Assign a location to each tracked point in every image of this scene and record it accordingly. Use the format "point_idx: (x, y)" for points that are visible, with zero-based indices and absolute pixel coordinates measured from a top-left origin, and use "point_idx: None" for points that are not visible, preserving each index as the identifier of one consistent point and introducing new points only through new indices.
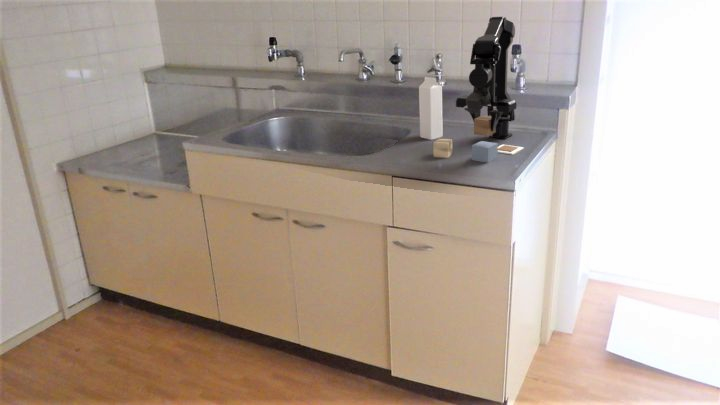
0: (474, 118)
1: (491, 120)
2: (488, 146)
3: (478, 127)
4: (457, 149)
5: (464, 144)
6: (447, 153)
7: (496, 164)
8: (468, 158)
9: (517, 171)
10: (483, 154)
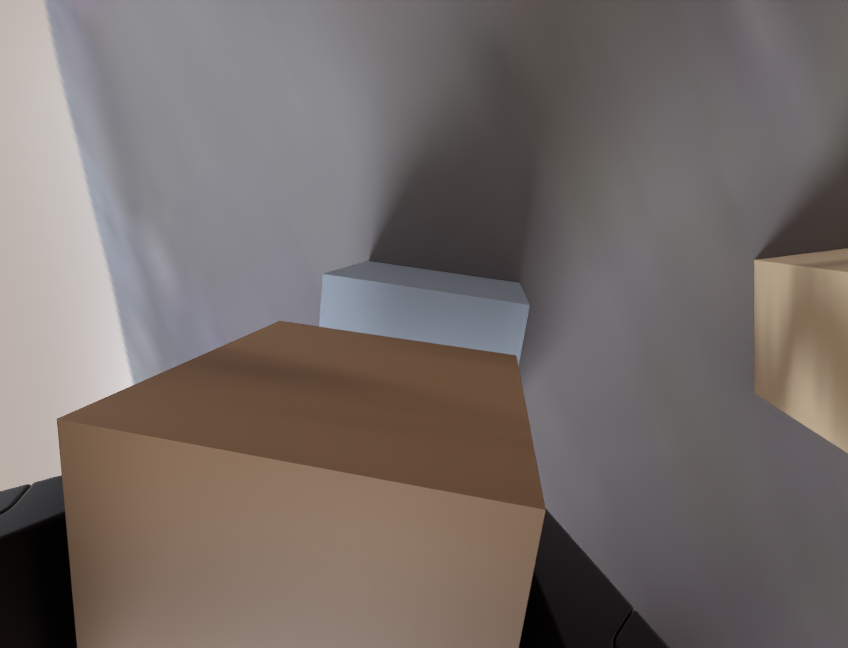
0: (583, 624)
1: (56, 512)
2: (344, 326)
3: (416, 381)
4: (746, 509)
5: (731, 643)
6: (786, 263)
7: (294, 244)
8: (560, 308)
9: (99, 147)
10: (396, 272)
